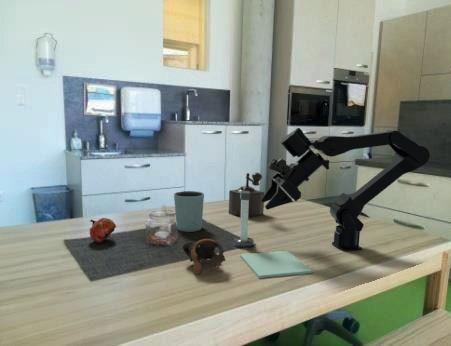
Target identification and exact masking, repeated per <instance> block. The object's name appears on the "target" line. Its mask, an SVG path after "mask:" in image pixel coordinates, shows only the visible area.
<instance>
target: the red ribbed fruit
mask: <svg viewBox="0 0 451 346" xmlns="http://www.w3.org/2000/svg"><path fill="white" fill-rule="evenodd" d="M89 222H91V223H92V224H91V227H89V237H90V238H91V240H92V241H93V242H94V243H97V244H101V243H102V242H103V241H105V240H106V239H108V238H109V239H110V240H112V241H113V242H114V243H117V242H116V241H115V240H114V239H113V238H112V237H111V236H110V235H111V234H112V233H114V232H115V229H116V228H117V225H116V222H114V221H113V219H111V218H106V217H101V218H98V220H93V219H90V220H89Z"/></svg>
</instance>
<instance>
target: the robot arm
mask: <svg viewBox="0 0 451 346" xmlns="http://www.w3.org/2000/svg"><path fill="white" fill-rule="evenodd" d="M280 144H281V146H282V147H283V148H284V149H286V151H287V152H288V153H289V154H290V156H291V157H293V158H295V157H297V158H299V159H298V160H297V161H295V163H290V164H289V165H288V164H287V160H285V159H283V158H279V159H276V158H274V157H271V158H270V159H269V160H270V161H269V162H268V164H267V169H270V170H271V171H274V173H273V174H272V175H271V177H270V186H269V187H268V189H267V190H266V192H264V193H265V194H264V196H263V198H262V199H261V201H262V202H263V203H264V204H265V203H266V202H267V203H266V205H264V208H265V209H266V210H271V209H274V208H276V207H280V206H283V205H285V204H290V203H294V202H297V201H299V200H300V199H301V198H302V192H301V191H300V189H299V187H300V186H301V185H302V184H303V183H305V182H308V181H309V180H310V177H312V175H314V173H315V172H317V171H318V170H319V168H321V167H322V168H324V169H325V170H326V171H328V170H330V160H329V159H325V158H324V157H323V156H327V157H331V158H332V157H336V156H340V155H342V154H346V153H348V152H350V151H353V150H360V149H367V148H373V147H374V148H375V147H382V146H389V147H390V149H391V150H392V151H393V152H395V153H396V154H395V155H394V156H393V159H392V160H391V163H390V164H389V165H387V166H386V167H385V168H383V169H382V170H381V171H380V172H378V173H377V174H376V175H375V176H373V177H372V178H371V179H370V180H369V181H367V182H366V183H365V184H364V185H362V186H361V187H359V189H357V190H356V191H355V192H353V193H351V194H347V193H345V192H343V193H341V194H339V196H338V197H337V198H336V199H334V200H332V203H331V204H330V207H329V213H330V216H331V217H332V218H334V221H335V223H336V224H338V225H335V230H334V234H333V235H334V236H333V241H332V242H331V244H332V245H333V246H335V247H336V248H338V249H340V250H341V251H343V252H346V251H347V252H348V251H357V250H358V251H359V250H363V247H362V246H360V235H361V232H362V230H363V228H364V226H365V225H364V223H363V222H362V221H361V220H360V219H359V218H358V217H359V216H360V215H361V214H362V212H363V210H364V207H365V206H366V205H367V204H368V203H370V202H371V201H372V200H373V199H375V198H376V197H377V196H378V195H379V194H381V193H382V192H383V191H384V190H386V189H387V188H388V187H390V186H391V185H393V183H394V182H396V181H397V180H399V178H401V177H402V176H403V175H405V174H408V173H411V172H414V171H416V170H418V169H419V168H422V167H423V166H426V165H427V164H428V162H430V157H431V155H430V151H429V149H428V148H427V147H425V146H422V145H419V144H418V143H416V142H415V141H414V140H412V139H409V138H408V136H407V137H406V136H405V135H404V134H403V133H401V132H400V131H399V130H392V129H391V130H389V129H388V130H386V131H380V132H373V133H365V134H359V135H358V134H357V135H350V136H342V135H340V136H339V135H323V136H322V135H321V136H320V137H319V139H316V140H313V139H311V140H310V139H309V137H307V136H306V134H305V133H304V132H303V130H302V129H301V128H300V127H296V128H295V129H294V130H293V131H291V132H290V133H288V134H287V135H285V137H283V138H282V140H280ZM313 149H314V150H317V151H318V152H316V153H315V152H314V151H313ZM322 155H323V156H322Z"/></svg>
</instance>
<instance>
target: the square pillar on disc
mask: <svg viewBox="0 0 451 346" xmlns="http://www.w3.org/2000/svg"><path fill="white" fill-rule="evenodd" d="M240 198H241V216H240V223H239V224H240V227H239V229H240V230H239V236H237V237H234V238H233V243H232V244H233V246H234V247H235V248H239V249H250V248H253V247H254V242H255V241H254V238H251V237H249V236H248V231H249V230H248V229H249V218H248V209H249V200H250V192H249V191H240Z"/></svg>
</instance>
